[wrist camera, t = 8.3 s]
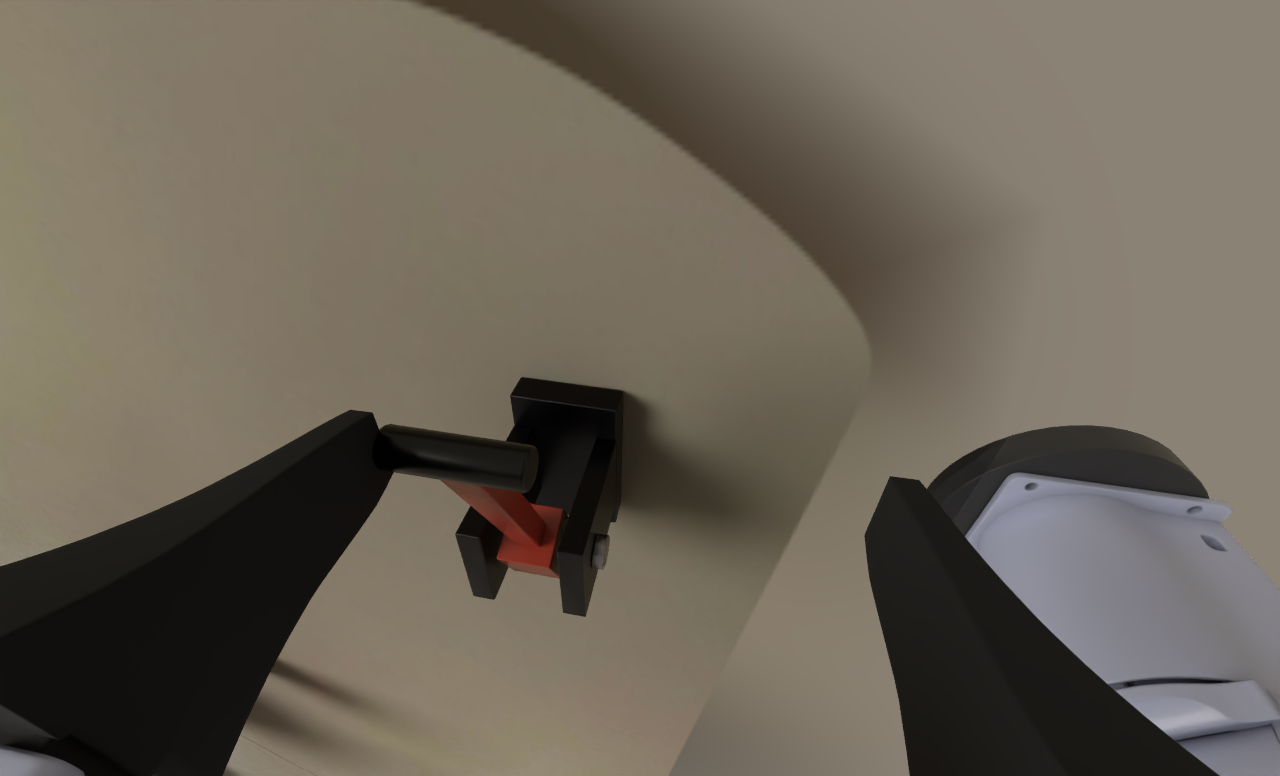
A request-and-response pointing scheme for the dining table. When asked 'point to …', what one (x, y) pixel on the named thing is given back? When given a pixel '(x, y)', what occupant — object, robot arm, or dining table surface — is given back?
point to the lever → (483, 487)
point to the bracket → (559, 484)
